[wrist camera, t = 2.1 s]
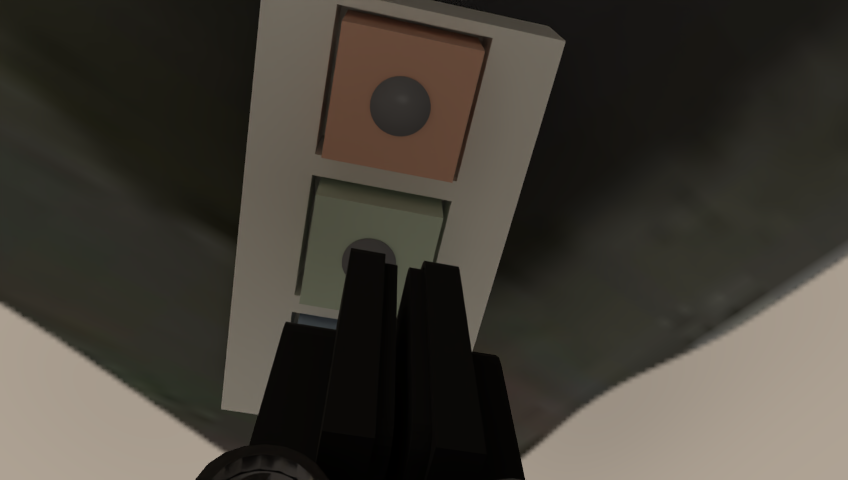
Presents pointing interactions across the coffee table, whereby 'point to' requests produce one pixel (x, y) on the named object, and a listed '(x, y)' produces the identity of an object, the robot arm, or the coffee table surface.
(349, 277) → the robot arm
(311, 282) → the sage key
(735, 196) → the coffee table surface
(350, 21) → the terracotta key
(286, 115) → the keypad
